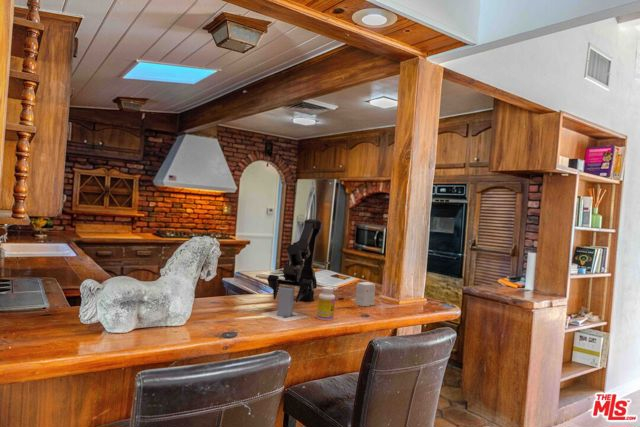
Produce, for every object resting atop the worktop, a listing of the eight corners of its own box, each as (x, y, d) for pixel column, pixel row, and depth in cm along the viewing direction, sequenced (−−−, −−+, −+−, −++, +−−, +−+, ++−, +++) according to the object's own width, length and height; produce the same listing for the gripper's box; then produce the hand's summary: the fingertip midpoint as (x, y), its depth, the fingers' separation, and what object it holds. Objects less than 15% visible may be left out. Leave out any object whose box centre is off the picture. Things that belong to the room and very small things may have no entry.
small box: (365, 302, 211) (366, 281, 211) (374, 305, 207) (375, 283, 207) (354, 304, 205) (356, 282, 205) (363, 307, 201) (365, 284, 201)
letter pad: (259, 315, 171) (260, 313, 171) (283, 310, 182) (284, 308, 182) (285, 323, 162) (285, 321, 162) (309, 317, 173) (309, 316, 173)
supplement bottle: (331, 322, 169) (334, 290, 169) (315, 320, 171) (318, 288, 170) (334, 318, 176) (337, 287, 176) (318, 316, 177) (321, 285, 177)
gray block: (280, 312, 175) (282, 286, 175) (292, 314, 174) (294, 287, 174) (276, 315, 170) (279, 288, 170) (288, 317, 169) (291, 289, 169)
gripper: (270, 255, 178) (259, 285, 167) (314, 260, 174) (305, 291, 163) (275, 271, 186) (264, 301, 175) (316, 276, 182) (308, 307, 171)
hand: (285, 300), depth 171 cm, fingers open, 9 cm apart
